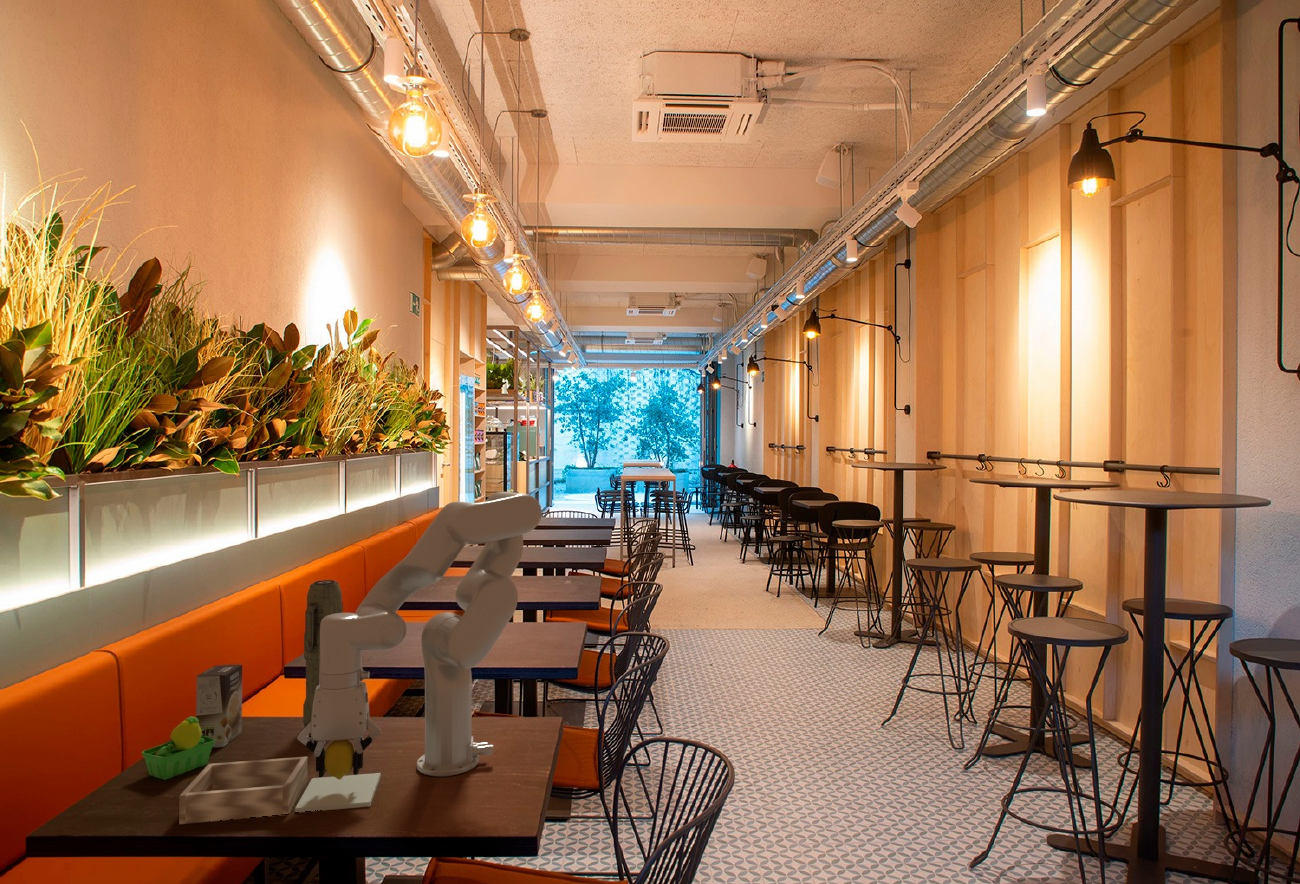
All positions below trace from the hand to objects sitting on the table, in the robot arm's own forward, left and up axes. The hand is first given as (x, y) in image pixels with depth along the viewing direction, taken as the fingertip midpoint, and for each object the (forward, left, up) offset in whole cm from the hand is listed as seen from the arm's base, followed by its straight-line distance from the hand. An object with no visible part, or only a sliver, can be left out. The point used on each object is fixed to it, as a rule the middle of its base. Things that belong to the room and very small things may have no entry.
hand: (339, 772), depth 146 cm
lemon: (0, 0, -1) cm, 1 cm away
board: (0, 0, -4) cm, 4 cm away
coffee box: (+32, -34, -4) cm, 47 cm away
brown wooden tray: (+16, 0, -4) cm, 17 cm away
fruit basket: (+34, -18, -4) cm, 39 cm away
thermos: (+10, -36, -4) cm, 38 cm away
